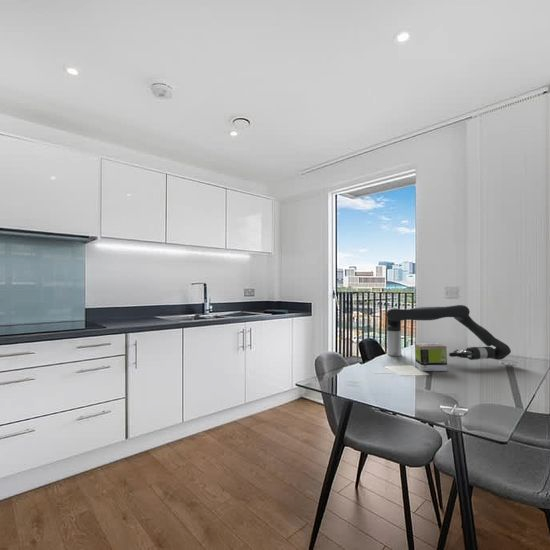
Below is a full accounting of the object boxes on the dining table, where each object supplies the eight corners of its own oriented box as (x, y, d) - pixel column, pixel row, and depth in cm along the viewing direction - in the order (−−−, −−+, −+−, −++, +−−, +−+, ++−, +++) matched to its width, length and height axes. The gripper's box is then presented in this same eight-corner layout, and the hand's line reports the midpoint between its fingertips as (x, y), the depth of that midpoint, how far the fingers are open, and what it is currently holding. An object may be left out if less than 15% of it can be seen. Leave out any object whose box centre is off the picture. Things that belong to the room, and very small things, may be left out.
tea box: (440, 366, 201) (440, 342, 201) (447, 371, 191) (447, 346, 191) (415, 366, 203) (414, 342, 203) (420, 371, 193) (420, 345, 193)
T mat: (364, 368, 203) (364, 367, 203) (411, 365, 206) (411, 365, 206) (378, 377, 183) (378, 377, 183) (429, 375, 186) (429, 374, 186)
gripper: (468, 344, 207) (442, 346, 205) (484, 349, 194) (456, 350, 192) (469, 356, 207) (443, 358, 205) (484, 362, 194) (457, 363, 192)
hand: (449, 354), depth 198 cm, fingers closed
